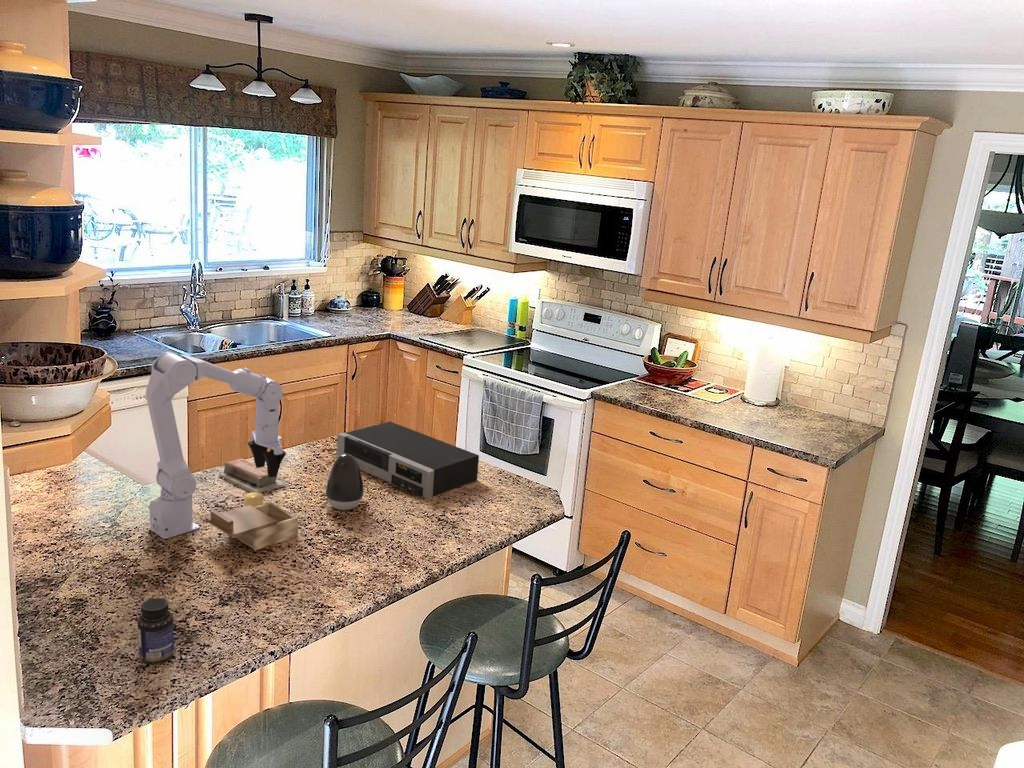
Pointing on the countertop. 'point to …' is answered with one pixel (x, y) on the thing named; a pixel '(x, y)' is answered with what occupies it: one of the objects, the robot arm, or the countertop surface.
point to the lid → (240, 520)
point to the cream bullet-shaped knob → (253, 499)
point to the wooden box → (272, 528)
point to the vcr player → (409, 458)
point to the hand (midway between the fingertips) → (266, 471)
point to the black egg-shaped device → (345, 483)
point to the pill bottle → (155, 631)
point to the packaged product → (249, 476)
